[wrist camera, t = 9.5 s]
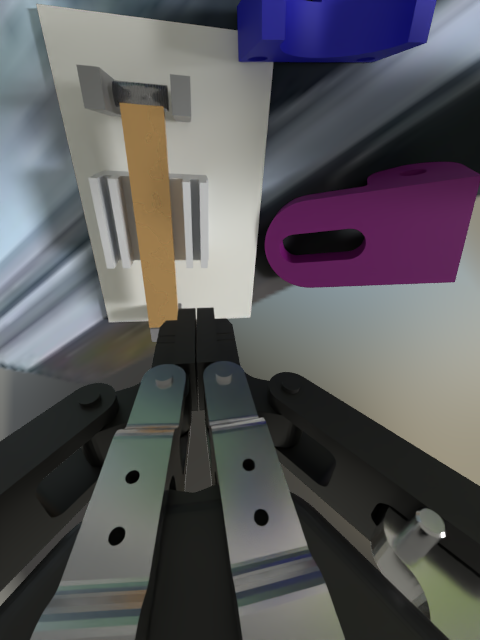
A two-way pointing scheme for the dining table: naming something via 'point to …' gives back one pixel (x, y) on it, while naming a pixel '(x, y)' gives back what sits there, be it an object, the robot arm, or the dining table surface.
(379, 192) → the mounting bracket
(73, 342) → the dining table surface
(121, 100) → the wooden strip
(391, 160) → the dining table surface
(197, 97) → the board
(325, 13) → the cable clip
